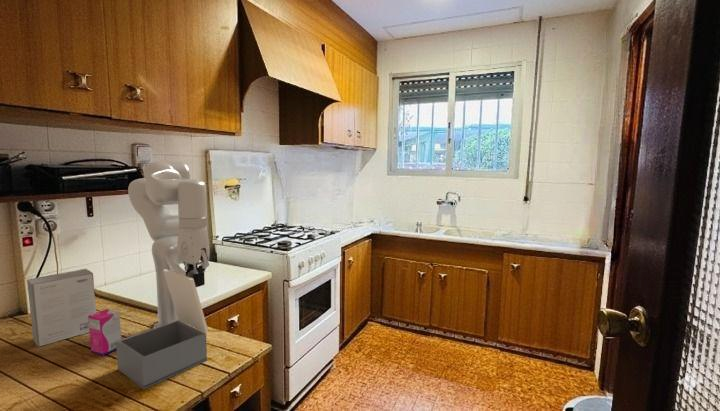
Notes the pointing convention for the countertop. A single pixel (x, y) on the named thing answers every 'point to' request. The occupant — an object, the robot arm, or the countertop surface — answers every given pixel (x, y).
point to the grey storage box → (161, 353)
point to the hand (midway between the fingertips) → (195, 284)
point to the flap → (186, 299)
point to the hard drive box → (61, 305)
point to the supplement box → (104, 331)
